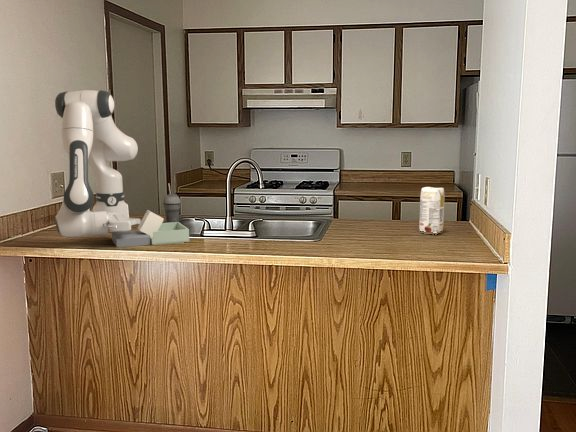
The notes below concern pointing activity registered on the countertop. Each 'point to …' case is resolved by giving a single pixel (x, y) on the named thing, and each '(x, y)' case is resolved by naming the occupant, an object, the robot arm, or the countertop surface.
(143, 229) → the off-white upright block
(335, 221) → the countertop surface
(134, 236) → the board
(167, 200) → the beverage cup
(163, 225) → the box
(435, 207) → the juice carton
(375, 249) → the countertop surface
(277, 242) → the countertop surface
